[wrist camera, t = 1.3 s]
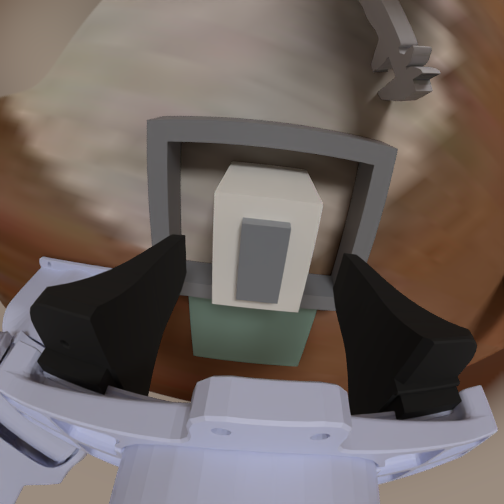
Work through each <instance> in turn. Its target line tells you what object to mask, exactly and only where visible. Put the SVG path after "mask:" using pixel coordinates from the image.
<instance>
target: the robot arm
mask: <svg viewBox="0 0 504 504" xmlns="http://www.w3.org/2000/svg"><path fill="white" fill-rule="evenodd" d="M39 261H40V265H41V269H40V270H39V271H38V272H37V273H36V274H35V275H34V276H33V277H32V278H31V279H30V280H29V281H28V282H27V283H26V285H25V286H24V287H23V288H22V289H21V290H20V291H19V292H18V294H17V295H16V296H15V297H14V298H13V299H12V301H11V302H10V303H9V305H8V306H7V308H6V311H5V314H4V318H3V325H2V328H3V332H0V504H15V503H16V500H17V498H18V496H19V494H20V492H21V491H22V489H23V487H24V486H25V485H49V484H59V483H61V482H62V480H63V479H64V477H65V476H66V475H67V473H68V472H69V471H70V470H71V468H72V467H73V466H74V465H76V464H77V463H78V462H80V461H81V460H82V459H83V458H84V457H85V456H86V455H87V454H90V455H92V456H94V457H96V458H99V459H101V460H103V461H105V462H108V463H110V464H113V465H115V466H118V467H119V468H118V472H117V476H116V479H115V483H114V487H113V490H112V494H111V498H110V502H109V504H380V497H379V487H378V484H382V483H386V482H390V481H394V480H397V479H400V478H403V477H407V476H410V475H413V474H416V473H419V472H422V471H425V470H428V469H431V468H433V467H436V466H439V465H442V464H444V463H447V462H449V461H452V460H454V459H457V458H460V457H462V456H463V455H465V454H466V453H468V452H469V451H471V450H472V449H474V448H475V447H477V446H478V445H480V444H481V443H482V442H484V441H485V440H486V439H488V438H489V437H491V435H493V434H494V433H496V432H497V430H498V428H497V426H496V423H495V420H494V417H493V414H492V411H491V409H490V406H489V404H488V401H487V399H486V396H485V393H484V391H483V389H482V386H481V385H478V386H475V387H471V388H466V389H464V390H462V391H460V392H458V390H457V387H456V386H458V385H459V384H460V381H459V379H458V375H459V374H460V373H461V372H462V371H463V369H464V368H465V367H466V366H467V365H468V363H469V362H470V361H471V359H472V358H473V356H474V354H475V352H476V348H477V344H476V342H475V340H474V338H473V336H472V334H471V333H470V331H469V330H468V329H466V328H463V327H460V326H458V325H455V324H453V323H450V322H448V321H446V320H444V319H442V318H440V317H438V316H436V315H434V314H432V313H430V312H429V311H427V310H425V309H424V308H422V307H420V306H419V305H417V304H416V303H414V302H413V301H411V300H410V299H408V298H407V297H406V296H404V295H403V294H402V293H400V292H399V291H398V290H396V289H395V288H394V287H393V286H392V285H390V284H389V283H388V282H387V281H386V280H385V279H384V278H382V277H381V276H380V275H379V274H378V273H377V272H376V271H375V270H374V269H373V268H372V267H370V266H369V265H368V264H367V263H366V262H365V261H364V260H363V259H361V258H360V257H359V256H358V255H356V254H348V253H344V254H343V258H342V261H341V264H340V268H339V271H338V274H337V277H336V281H335V284H334V287H333V294H334V303H335V309H336V313H337V317H338V321H339V325H340V329H341V333H342V337H343V341H344V346H345V351H346V360H347V371H348V395H347V392H346V391H345V390H343V389H342V388H341V387H340V386H338V385H336V384H331V383H325V382H312V381H287V380H272V379H260V378H249V377H239V376H212V377H210V378H207V379H204V380H202V381H199V382H197V384H196V386H195V388H194V391H193V395H192V400H191V403H181V402H178V403H177V402H170V401H165V400H161V399H156V398H152V397H148V393H149V388H150V383H151V378H152V373H153V369H154V364H155V360H156V356H157V353H158V349H159V345H160V342H161V338H162V335H163V332H164V329H165V327H166V324H167V322H168V320H169V318H170V315H171V313H172V311H173V309H174V306H175V304H176V302H177V300H178V297H179V295H180V293H181V290H182V287H183V284H184V280H185V277H186V273H187V270H186V247H185V235H176V234H172V235H170V236H168V237H166V238H165V239H163V240H162V241H160V242H158V243H157V244H155V245H154V246H152V247H151V248H149V249H147V250H146V251H144V252H143V253H141V254H139V255H137V256H136V257H134V258H132V259H131V260H129V261H127V262H125V263H123V264H121V265H119V266H117V267H115V268H107V267H100V266H94V265H88V264H82V263H76V262H70V261H64V260H59V259H53V258H48V257H41V258H40V260H39Z"/></svg>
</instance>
